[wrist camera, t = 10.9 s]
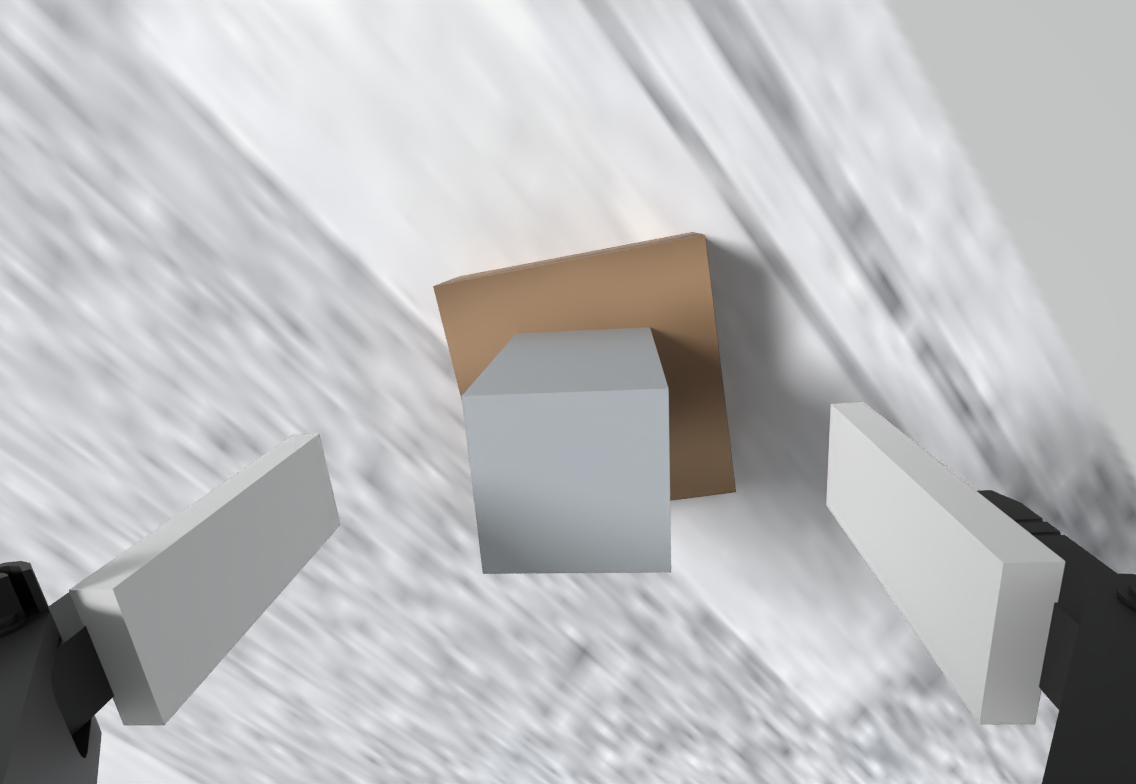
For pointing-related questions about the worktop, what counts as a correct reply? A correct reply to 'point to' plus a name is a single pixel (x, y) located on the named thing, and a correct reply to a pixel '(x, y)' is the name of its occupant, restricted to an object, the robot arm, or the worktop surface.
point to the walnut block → (613, 301)
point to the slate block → (571, 454)
